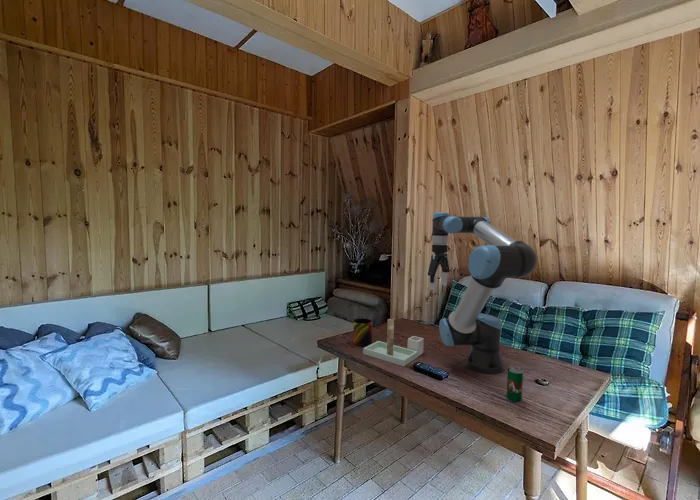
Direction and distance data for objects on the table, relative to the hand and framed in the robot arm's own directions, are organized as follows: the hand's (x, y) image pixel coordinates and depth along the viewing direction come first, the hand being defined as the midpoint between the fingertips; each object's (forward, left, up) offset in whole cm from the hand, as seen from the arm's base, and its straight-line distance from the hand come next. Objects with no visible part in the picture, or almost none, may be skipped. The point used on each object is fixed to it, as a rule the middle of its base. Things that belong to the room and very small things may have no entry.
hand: (438, 287), depth 168 cm
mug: (+36, +16, -32) cm, 51 cm away
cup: (+5, +13, -32) cm, 35 cm away
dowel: (+13, +23, -31) cm, 41 cm away
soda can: (-42, +27, -32) cm, 59 cm away
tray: (+13, +23, -32) cm, 41 cm away
